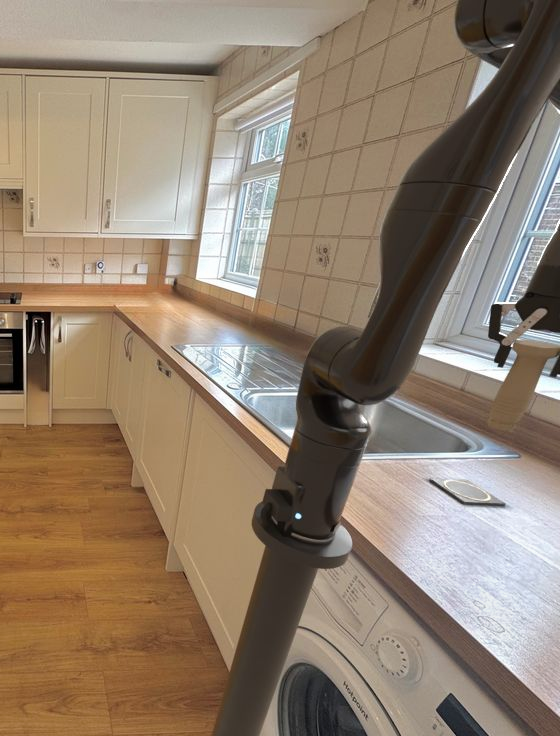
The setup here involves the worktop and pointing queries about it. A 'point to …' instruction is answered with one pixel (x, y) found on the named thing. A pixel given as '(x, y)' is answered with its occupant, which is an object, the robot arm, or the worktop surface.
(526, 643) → the worktop surface
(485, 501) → the slate board
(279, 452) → the worktop surface
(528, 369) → the handle
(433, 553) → the worktop surface
